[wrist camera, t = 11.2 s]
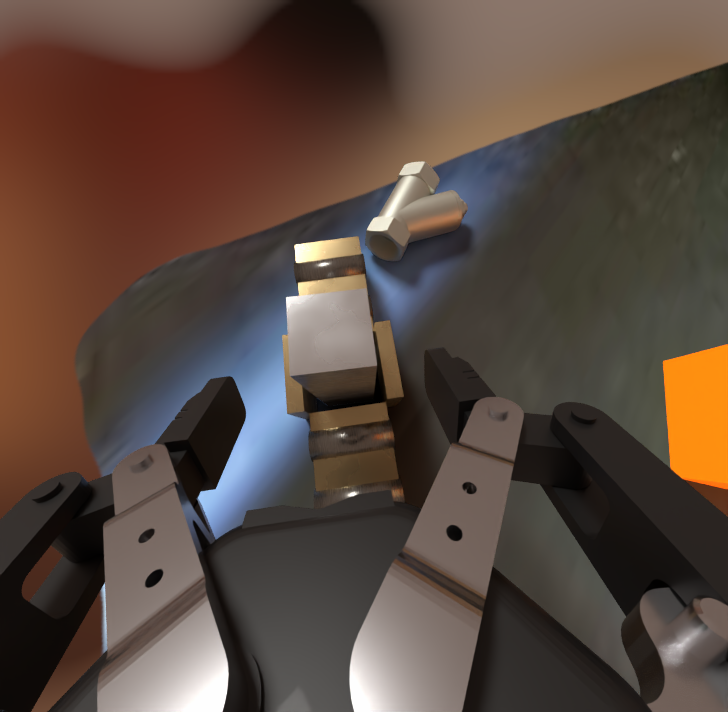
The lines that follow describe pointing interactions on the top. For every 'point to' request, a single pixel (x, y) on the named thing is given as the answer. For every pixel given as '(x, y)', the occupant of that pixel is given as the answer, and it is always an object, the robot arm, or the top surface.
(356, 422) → the gold block with rollers
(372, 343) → the square grey block
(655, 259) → the top surface
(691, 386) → the orange juice
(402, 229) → the pipe fitting
